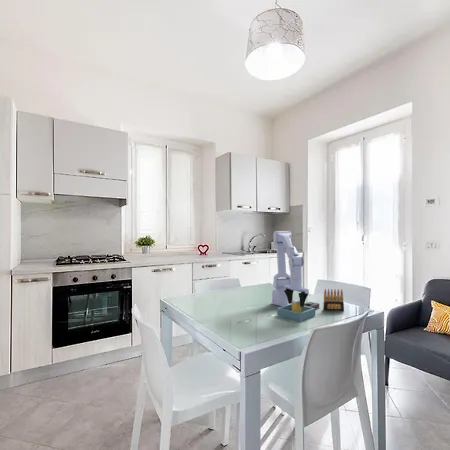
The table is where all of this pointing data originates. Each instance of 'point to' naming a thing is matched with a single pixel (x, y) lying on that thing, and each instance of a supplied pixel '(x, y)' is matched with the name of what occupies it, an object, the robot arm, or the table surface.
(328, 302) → the ammunition clip
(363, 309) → the table surface
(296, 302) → the block
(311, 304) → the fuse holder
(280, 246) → the robot arm
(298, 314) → the parts tray
